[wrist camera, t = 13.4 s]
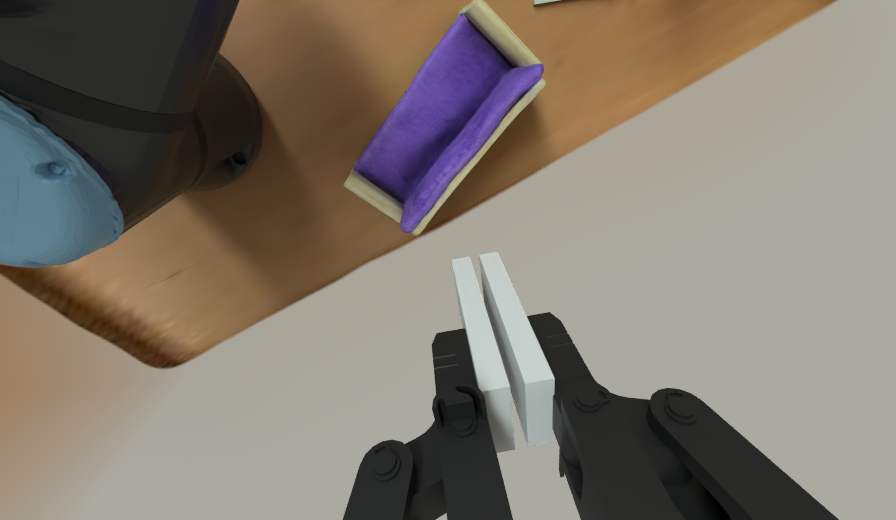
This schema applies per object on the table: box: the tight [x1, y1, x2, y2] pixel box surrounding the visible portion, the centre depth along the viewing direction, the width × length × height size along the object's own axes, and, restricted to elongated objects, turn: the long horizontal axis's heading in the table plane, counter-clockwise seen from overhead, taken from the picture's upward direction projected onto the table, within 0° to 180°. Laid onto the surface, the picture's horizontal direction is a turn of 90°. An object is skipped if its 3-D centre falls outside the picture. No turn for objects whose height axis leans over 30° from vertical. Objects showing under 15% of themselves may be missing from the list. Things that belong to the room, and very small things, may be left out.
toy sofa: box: [343, 0, 546, 236], centre depth 36 cm, size 21×9×10 cm, turn 140°
